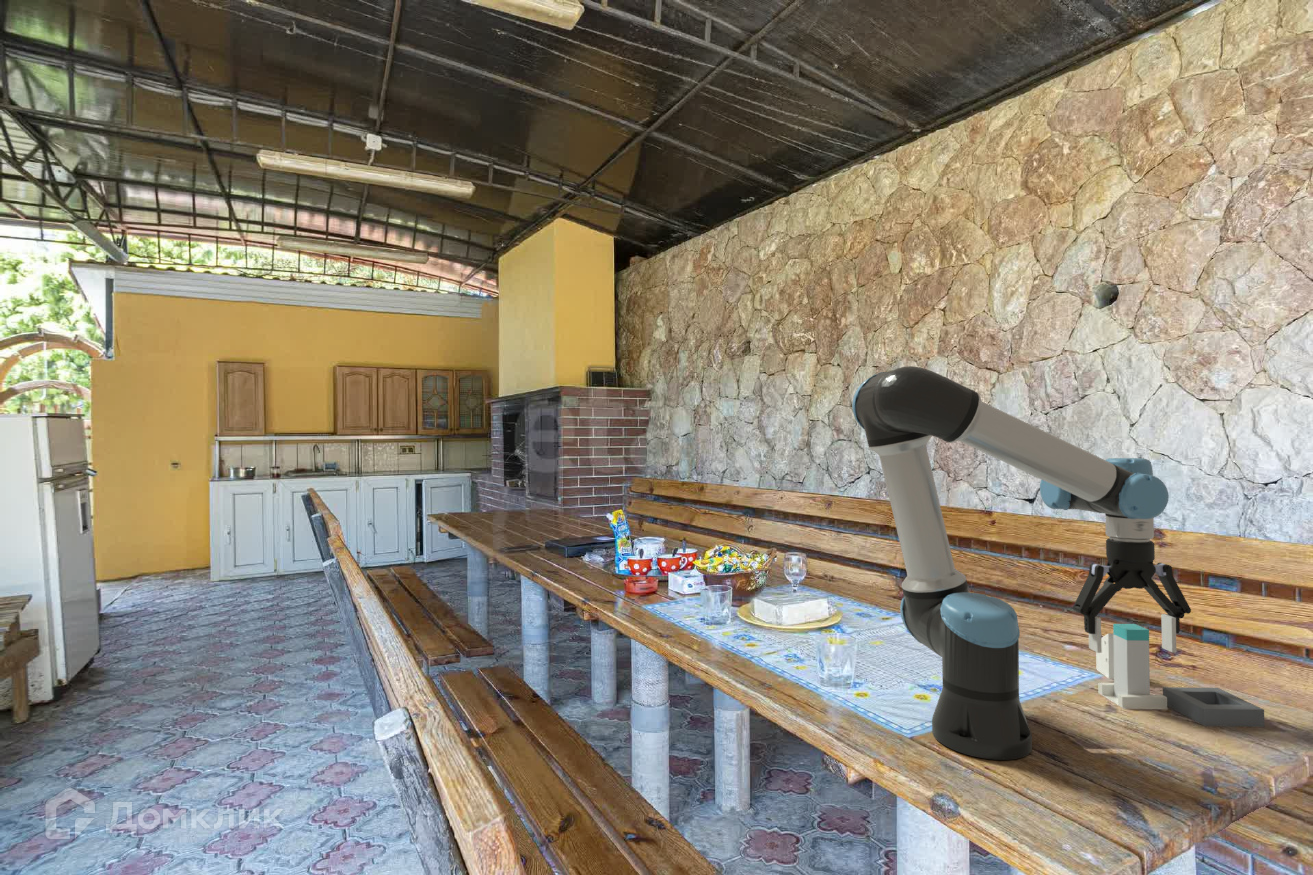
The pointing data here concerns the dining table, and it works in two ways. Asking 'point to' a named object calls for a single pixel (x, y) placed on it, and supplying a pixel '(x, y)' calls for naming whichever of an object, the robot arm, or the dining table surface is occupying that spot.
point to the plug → (1131, 660)
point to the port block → (1213, 707)
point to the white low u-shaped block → (1132, 699)
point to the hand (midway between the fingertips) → (1132, 650)
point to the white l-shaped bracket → (1106, 657)
